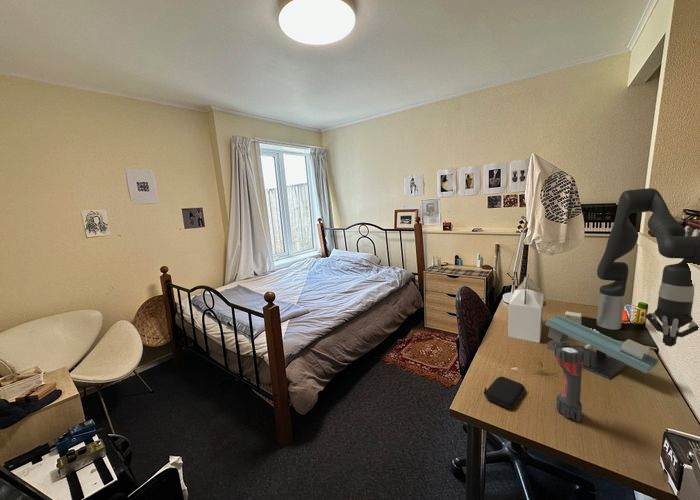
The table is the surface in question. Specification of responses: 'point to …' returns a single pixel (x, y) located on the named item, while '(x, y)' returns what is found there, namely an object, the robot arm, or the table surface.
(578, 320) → the skincare box
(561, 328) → the seesaw beam
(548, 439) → the table surface
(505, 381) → the carrying case or bag
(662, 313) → the robot arm
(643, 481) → the table surface
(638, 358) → the steel slider
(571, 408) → the flashlight
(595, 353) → the beam stand
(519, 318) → the gable box
